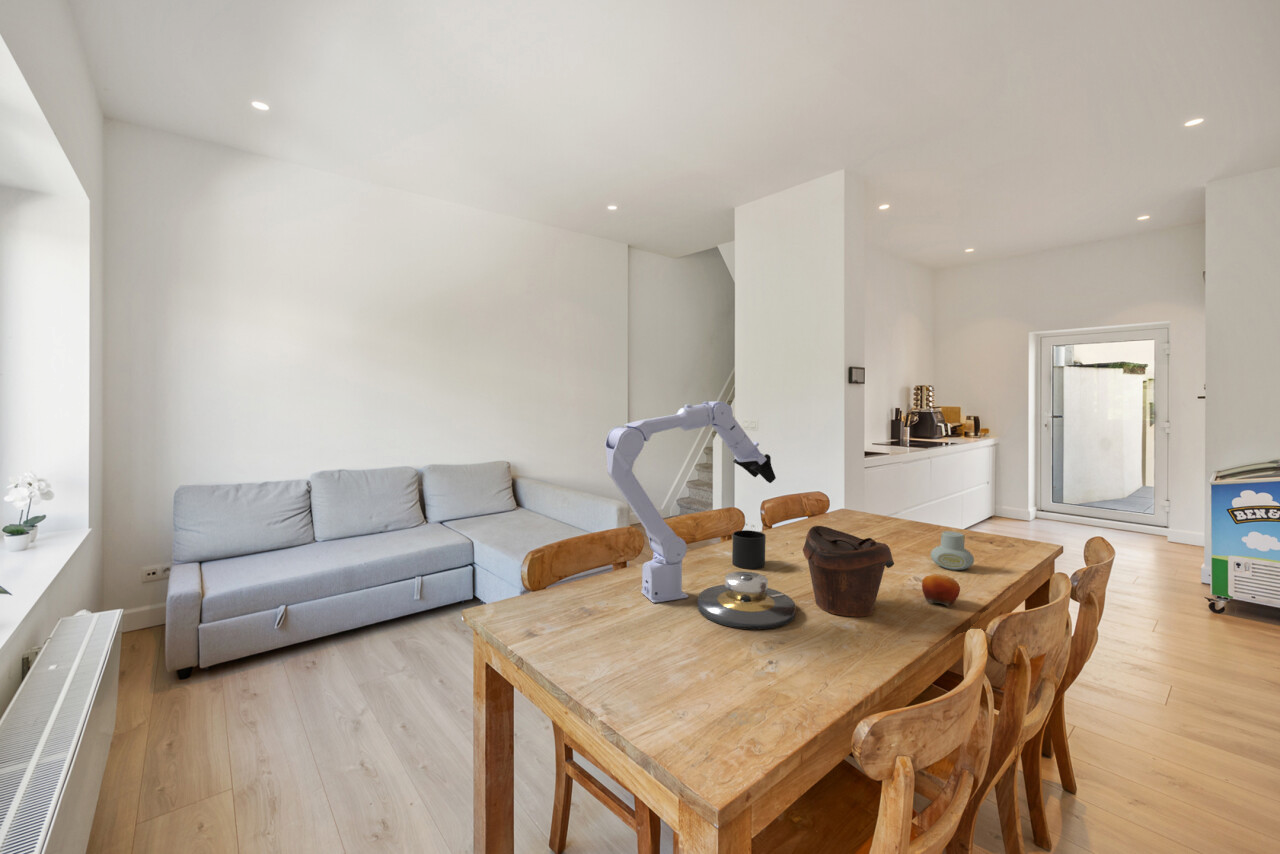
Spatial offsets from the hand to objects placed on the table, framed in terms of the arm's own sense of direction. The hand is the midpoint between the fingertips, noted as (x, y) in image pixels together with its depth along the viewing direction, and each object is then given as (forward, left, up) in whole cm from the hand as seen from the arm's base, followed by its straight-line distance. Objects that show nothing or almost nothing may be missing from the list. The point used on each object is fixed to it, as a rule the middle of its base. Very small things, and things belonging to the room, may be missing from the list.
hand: (764, 477), depth 142 cm
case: (+8, -21, -28) cm, 36 cm away
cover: (-12, -10, -26) cm, 30 cm away
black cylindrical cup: (+6, +15, -28) cm, 32 cm away
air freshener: (+59, -9, -28) cm, 66 cm away
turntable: (-15, -14, -28) cm, 35 cm away
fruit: (+32, -28, -28) cm, 51 cm away
